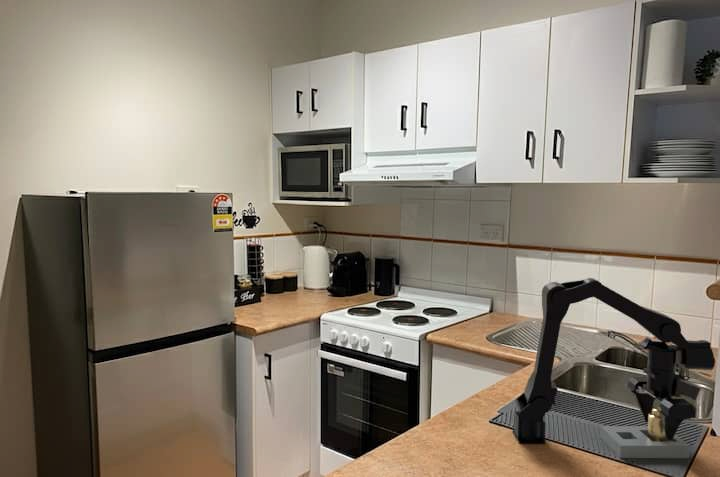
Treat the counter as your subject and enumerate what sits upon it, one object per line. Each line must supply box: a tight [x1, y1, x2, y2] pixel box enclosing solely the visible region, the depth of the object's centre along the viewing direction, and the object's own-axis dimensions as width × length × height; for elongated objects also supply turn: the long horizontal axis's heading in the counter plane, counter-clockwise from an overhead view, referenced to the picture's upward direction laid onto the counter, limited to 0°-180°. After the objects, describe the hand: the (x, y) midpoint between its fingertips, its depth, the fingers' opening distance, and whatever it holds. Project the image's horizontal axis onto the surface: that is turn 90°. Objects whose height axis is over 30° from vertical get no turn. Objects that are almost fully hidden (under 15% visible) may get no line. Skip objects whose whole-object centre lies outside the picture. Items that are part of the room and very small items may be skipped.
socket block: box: [599, 425, 691, 459], centre depth 123 cm, size 16×10×3 cm, turn 89°
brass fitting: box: [647, 406, 669, 442], centre depth 123 cm, size 4×4×10 cm
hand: (658, 430), depth 123 cm, fingers open, 9 cm apart
